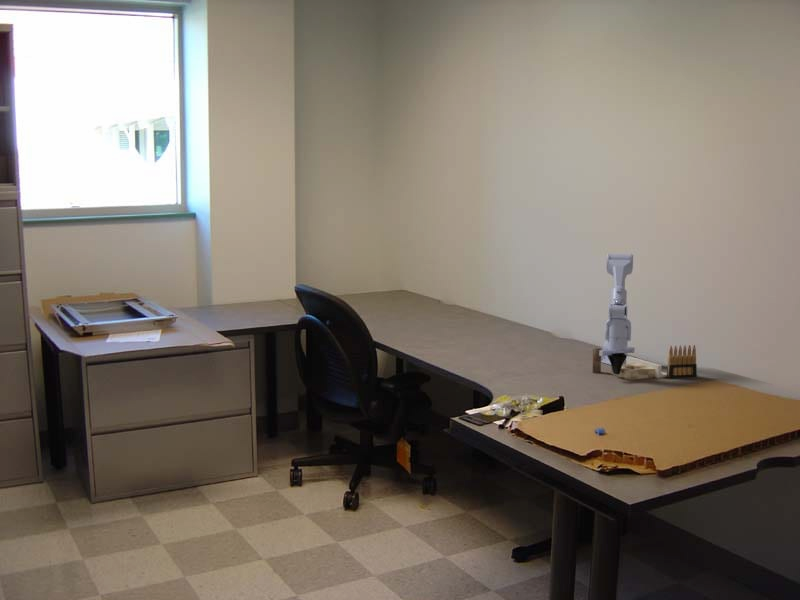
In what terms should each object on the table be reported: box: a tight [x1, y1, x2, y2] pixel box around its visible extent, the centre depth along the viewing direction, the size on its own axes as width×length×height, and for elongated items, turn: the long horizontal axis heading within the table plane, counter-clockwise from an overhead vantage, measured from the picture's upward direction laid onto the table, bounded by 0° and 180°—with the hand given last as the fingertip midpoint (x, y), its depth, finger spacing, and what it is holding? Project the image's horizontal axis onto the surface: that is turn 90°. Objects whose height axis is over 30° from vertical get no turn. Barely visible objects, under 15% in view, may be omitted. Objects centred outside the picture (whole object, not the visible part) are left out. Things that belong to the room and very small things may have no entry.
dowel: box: [592, 347, 602, 374], centre depth 322 cm, size 3×3×9 cm
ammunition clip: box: [666, 344, 698, 380], centre depth 312 cm, size 11×2×12 cm, turn 97°
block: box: [610, 363, 656, 381], centre depth 317 cm, size 11×11×3 cm
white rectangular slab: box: [626, 356, 667, 379], centre depth 322 cm, size 18×6×4 cm, turn 24°
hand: (616, 373), depth 314 cm, fingers closed
